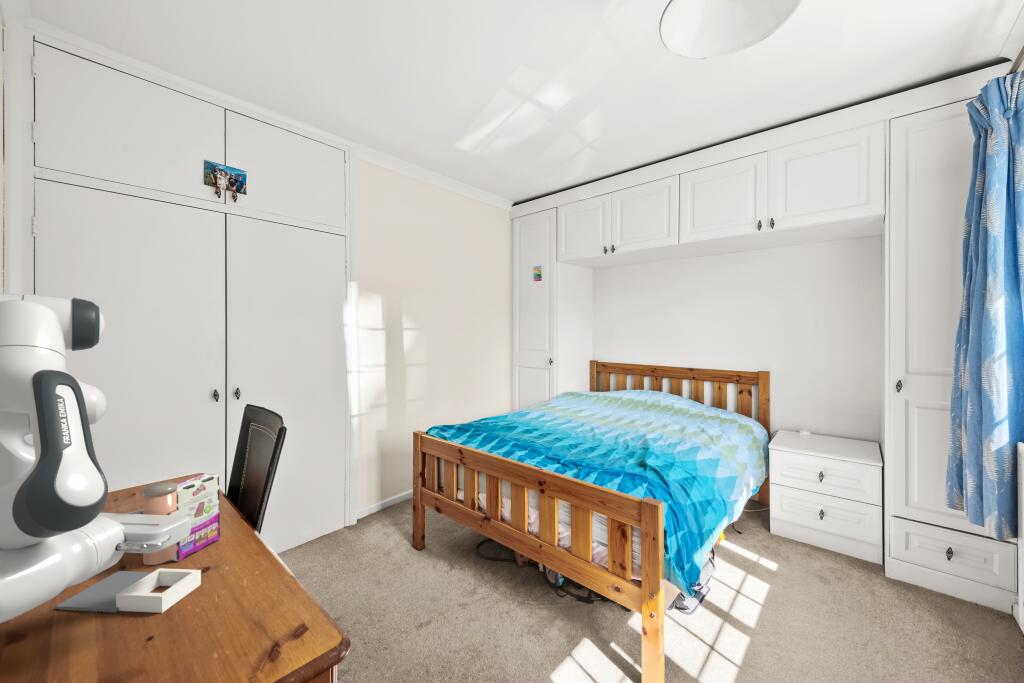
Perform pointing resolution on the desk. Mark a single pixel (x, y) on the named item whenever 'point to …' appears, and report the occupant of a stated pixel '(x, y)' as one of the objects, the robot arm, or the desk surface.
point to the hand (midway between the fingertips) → (164, 512)
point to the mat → (102, 593)
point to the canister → (160, 503)
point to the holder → (144, 601)
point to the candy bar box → (199, 513)
